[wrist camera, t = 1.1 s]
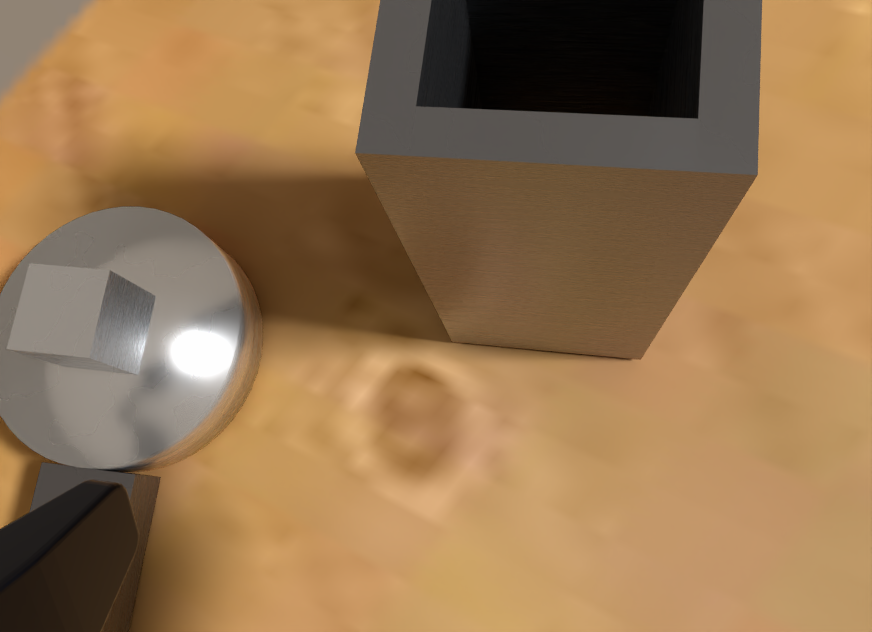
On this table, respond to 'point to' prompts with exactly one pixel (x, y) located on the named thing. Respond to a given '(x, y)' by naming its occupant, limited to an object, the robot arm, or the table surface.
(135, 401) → the ratchet
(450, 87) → the socket
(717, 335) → the table surface
